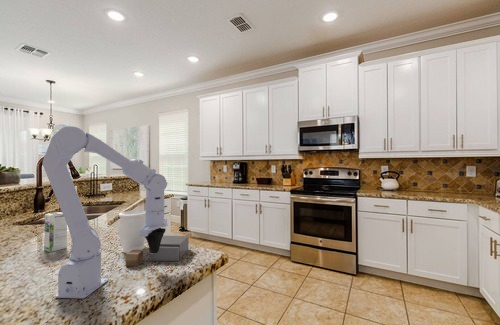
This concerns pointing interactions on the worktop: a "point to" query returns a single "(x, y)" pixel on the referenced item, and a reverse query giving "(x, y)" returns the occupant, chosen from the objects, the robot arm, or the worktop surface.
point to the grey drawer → (165, 254)
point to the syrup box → (55, 232)
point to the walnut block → (134, 257)
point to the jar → (131, 230)
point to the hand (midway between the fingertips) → (154, 252)
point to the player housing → (176, 243)
